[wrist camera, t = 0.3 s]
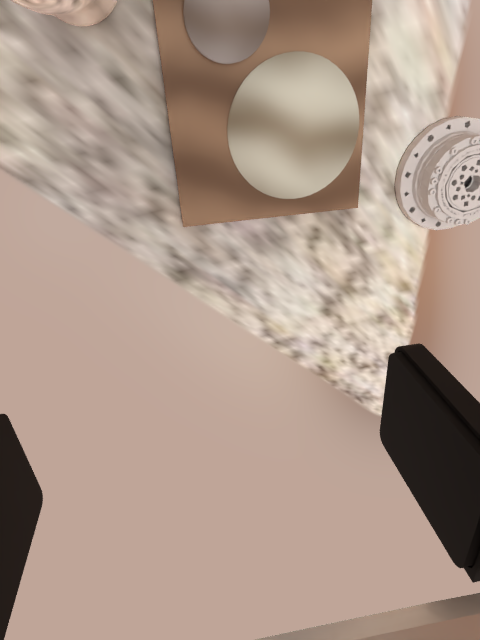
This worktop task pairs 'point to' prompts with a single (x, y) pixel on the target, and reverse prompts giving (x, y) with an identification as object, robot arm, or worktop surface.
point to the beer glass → (72, 9)
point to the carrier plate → (264, 104)
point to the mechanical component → (441, 175)
